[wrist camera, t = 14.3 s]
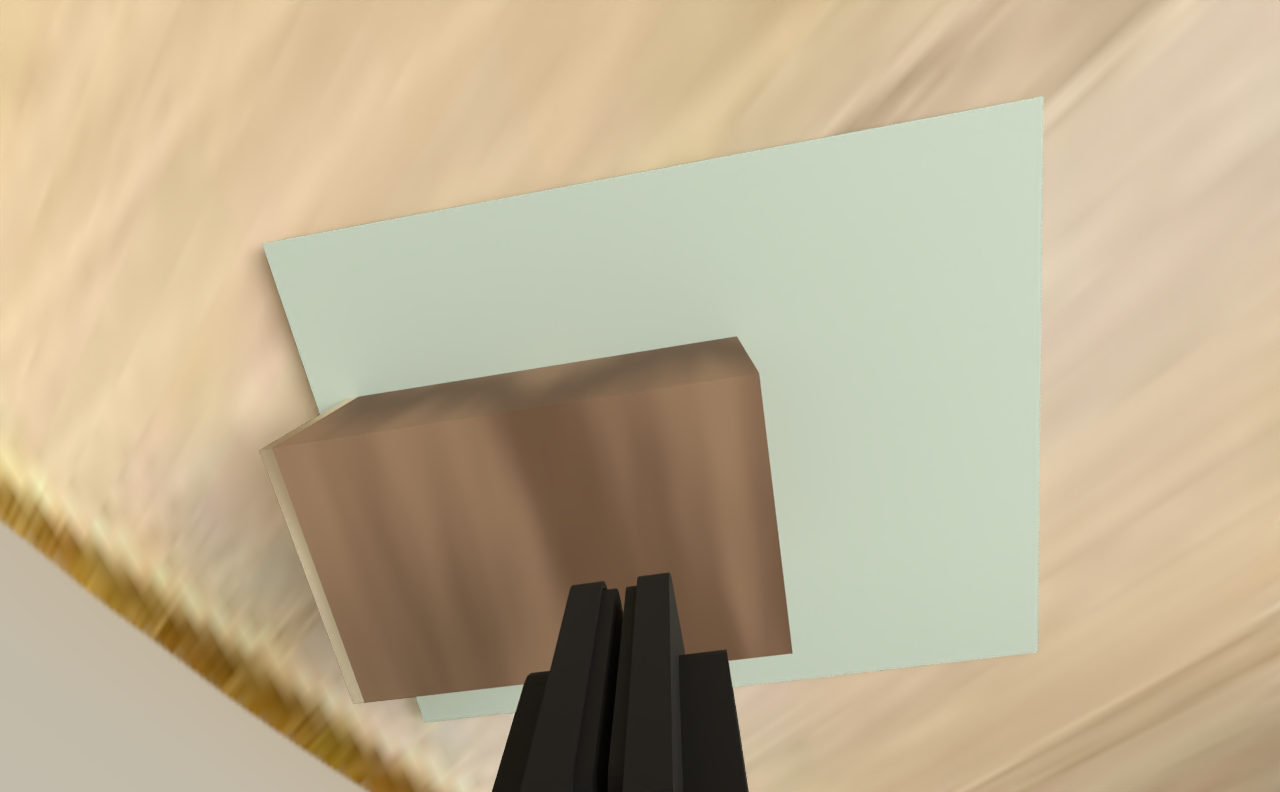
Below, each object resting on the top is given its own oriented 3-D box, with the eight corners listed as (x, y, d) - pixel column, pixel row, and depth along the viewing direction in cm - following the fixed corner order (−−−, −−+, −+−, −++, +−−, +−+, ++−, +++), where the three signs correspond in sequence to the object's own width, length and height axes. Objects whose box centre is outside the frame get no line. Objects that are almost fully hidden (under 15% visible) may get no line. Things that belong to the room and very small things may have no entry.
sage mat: (1033, 99, 15) (1043, 96, 14) (1030, 643, 19) (1037, 652, 19) (271, 242, 17) (262, 243, 16) (428, 713, 21) (424, 723, 21)
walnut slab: (759, 372, 13) (259, 449, 14) (792, 653, 15) (353, 704, 15) (736, 336, 16) (348, 398, 17) (765, 561, 18) (415, 606, 19)
